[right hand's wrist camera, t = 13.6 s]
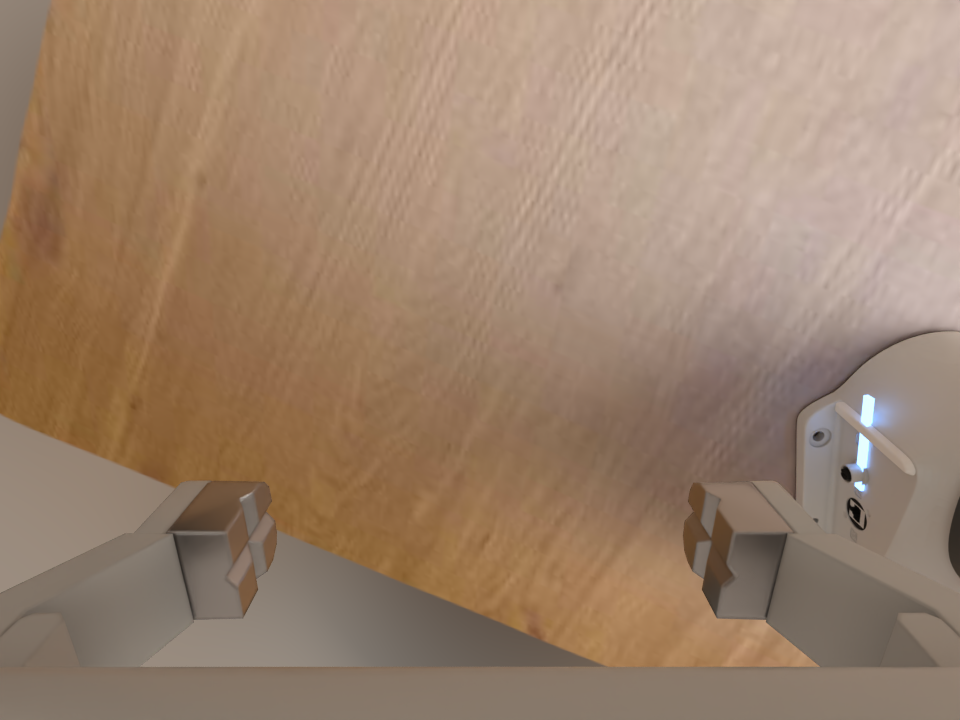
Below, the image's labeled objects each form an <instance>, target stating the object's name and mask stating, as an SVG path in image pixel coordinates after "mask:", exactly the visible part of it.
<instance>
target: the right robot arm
mask: <svg viewBox="0 0 960 720" xmlns="http://www.w3.org/2000/svg"><path fill="white" fill-rule="evenodd" d="M816 432H819V433H818V434H817V435H816V436H814V437H813V435H814V434H815V433H816ZM271 502H272V499H271V494H270V489H269V486H268V485H267V484H266V483H265V482H246V481H186V482H182V483H180V484H179V485H178V487H177V488H176V489H175V490H174V491H173V492H172V493H171V494H170V495H169V496H168V497H167V498H166V499H165V501H164V502H163V503H162V504H161V505H160V506H159V507H158V508H157V509H156V510H155V511H154V512H153V513H152V514H151V515H150V516H149V518H148V519H147V520H146V521H145V522H144V523H143V524H142V525H141V526H140V527H139V528H138V529H137V530H136V531H135V533H134V534H123V535H121V536H119V537H117V538H115V539H112V540H110V541H108V542H106V543H104V544H102V545H100V546H98V547H96V548H94V549H91V550H89V551H87V552H85V553H83V554H81V555H79V556H77V557H75V558H73V559H71V560H69V561H66V562H64V563H62V564H60V565H58V566H56V567H54V568H52V569H50V570H48V571H46V572H43V573H41V574H39V575H37V576H35V577H33V578H31V579H29V580H27V581H25V582H22V583H20V584H18V585H16V586H14V587H12V588H10V589H8V590H6V591H4V592H1V593H0V720H960V332H957V331H942V332H933V333H927V334H923V335H919V336H915V337H912V338H909V339H906V340H904V341H901V342H899V343H897V344H895V345H893V346H890V347H889V348H887V349H885V350H883V351H882V352H880V353H878V354H877V355H875V356H874V357H873V358H871V359H870V360H868V361H867V362H866V363H865V364H864V365H862V366H861V367H860V368H859V369H858V370H857V371H856V372H855V373H854V374H853V375H852V376H851V377H850V378H849V379H848V380H847V381H846V382H845V383H844V384H843V385H842V386H841V387H839V388H838V389H837V390H836V391H834V392H833V393H831V394H829V395H827V396H825V397H823V398H821V399H819V400H817V401H815V402H813V403H812V404H810V405H809V406H807V407H806V408H805V409H803V410H802V411H801V413H800V414H799V416H798V418H797V440H796V500H795V499H794V498H793V497H792V496H791V495H790V494H789V493H788V492H787V491H786V490H785V489H784V488H783V486H782V485H781V484H780V483H778V482H775V481H773V480H768V481H746V482H704V483H693V485H692V487H691V489H690V493H689V499H688V502H689V504H690V505H691V507H692V509H693V510H694V512H693V513H692V514H691V515H690V516H689V517H688V518H687V519H686V520H685V524H684V532H683V541H684V551H685V554H686V557H687V561H688V563H689V565H690V567H691V569H692V571H693V572H694V573H696V574H697V575H699V576H700V577H702V578H703V579H704V581H703V587H702V591H703V592H704V594H705V596H706V598H707V600H708V602H709V604H710V606H711V608H712V610H713V611H714V613H715V615H716V617H717V618H722V619H758V620H766V622H767V623H768V624H769V625H770V626H771V627H773V628H774V629H775V630H776V631H778V632H779V633H780V634H781V635H782V636H784V637H785V638H786V639H787V640H789V641H790V642H791V643H792V644H793V645H795V646H796V647H797V648H798V649H800V650H801V651H802V652H803V653H804V654H806V655H807V656H808V657H809V658H811V659H812V660H813V661H814V662H815V663H817V664H818V665H819V666H820V667H140V666H141V665H142V664H143V663H145V662H146V661H147V660H148V659H150V658H151V657H152V656H153V655H155V654H156V653H157V652H158V651H159V650H161V649H162V648H163V647H164V646H166V645H167V644H168V643H169V642H170V641H172V640H173V639H174V638H175V637H176V636H178V635H179V634H180V633H181V632H183V631H184V630H185V629H186V628H188V627H189V626H190V625H191V624H192V623H194V620H202V619H236V618H243V617H244V615H245V613H246V612H247V610H248V608H249V606H250V604H251V602H252V600H253V598H254V596H255V594H256V592H257V591H258V587H257V581H256V579H257V578H258V577H260V576H261V575H263V574H264V573H266V572H267V571H268V569H269V567H270V565H271V563H272V561H273V558H274V553H275V549H276V545H277V530H276V523H275V520H274V519H273V518H272V517H271V516H270V515H269V514H268V513H267V512H266V510H267V509H268V507H269V505H270V504H271Z"/></svg>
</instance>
